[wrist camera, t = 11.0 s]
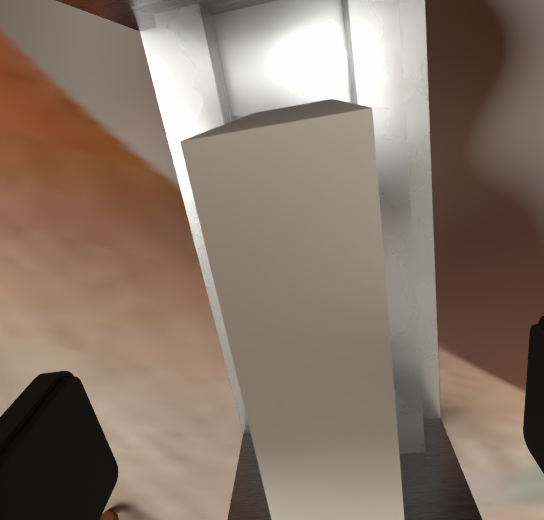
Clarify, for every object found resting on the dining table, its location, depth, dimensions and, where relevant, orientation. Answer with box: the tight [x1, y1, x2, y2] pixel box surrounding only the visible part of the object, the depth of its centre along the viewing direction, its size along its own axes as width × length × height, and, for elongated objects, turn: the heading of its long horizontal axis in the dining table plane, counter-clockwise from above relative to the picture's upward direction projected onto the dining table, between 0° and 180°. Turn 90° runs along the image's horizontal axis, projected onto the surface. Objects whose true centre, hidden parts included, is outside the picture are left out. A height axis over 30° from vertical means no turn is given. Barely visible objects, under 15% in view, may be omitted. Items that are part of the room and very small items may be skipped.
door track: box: [57, 0, 482, 520], centre depth 13 cm, size 22×10×12 cm, turn 10°
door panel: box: [180, 99, 405, 520], centre depth 13 cm, size 12×3×10 cm, turn 10°
